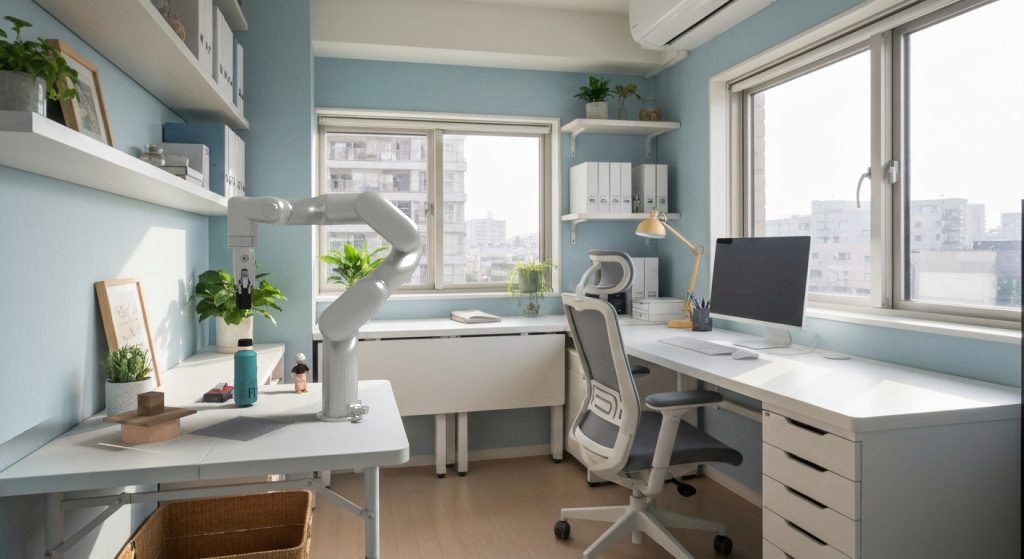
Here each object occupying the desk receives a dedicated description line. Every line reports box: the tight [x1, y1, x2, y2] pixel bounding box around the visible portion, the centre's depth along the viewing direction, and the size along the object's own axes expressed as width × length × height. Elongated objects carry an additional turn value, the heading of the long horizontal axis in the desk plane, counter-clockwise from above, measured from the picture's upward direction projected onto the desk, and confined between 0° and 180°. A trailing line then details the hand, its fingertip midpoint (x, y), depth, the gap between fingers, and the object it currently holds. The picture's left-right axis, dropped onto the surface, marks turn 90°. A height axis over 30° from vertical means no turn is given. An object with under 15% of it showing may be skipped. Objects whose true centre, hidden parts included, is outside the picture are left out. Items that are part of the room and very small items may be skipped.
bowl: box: [120, 418, 181, 445], centre depth 154 cm, size 12×12×5 cm
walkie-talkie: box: [202, 382, 234, 404], centre depth 199 cm, size 9×4×20 cm
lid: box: [102, 390, 198, 427], centre depth 154 cm, size 14×14×6 cm
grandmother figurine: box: [289, 352, 312, 394], centre depth 206 cm, size 8×4×13 cm, turn 154°
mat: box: [187, 415, 296, 442], centre depth 163 cm, size 18×18×1 cm
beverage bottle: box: [233, 338, 259, 405], centre depth 185 cm, size 6×7×20 cm
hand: (243, 307), depth 170 cm, fingers open, 9 cm apart
